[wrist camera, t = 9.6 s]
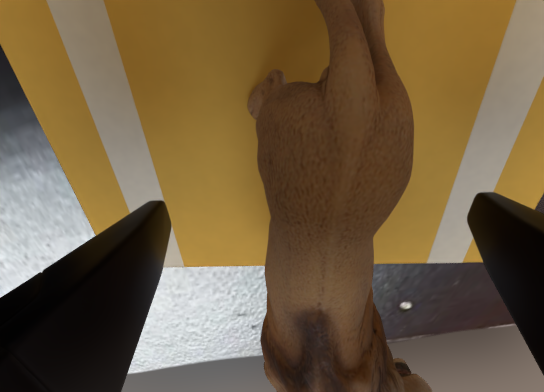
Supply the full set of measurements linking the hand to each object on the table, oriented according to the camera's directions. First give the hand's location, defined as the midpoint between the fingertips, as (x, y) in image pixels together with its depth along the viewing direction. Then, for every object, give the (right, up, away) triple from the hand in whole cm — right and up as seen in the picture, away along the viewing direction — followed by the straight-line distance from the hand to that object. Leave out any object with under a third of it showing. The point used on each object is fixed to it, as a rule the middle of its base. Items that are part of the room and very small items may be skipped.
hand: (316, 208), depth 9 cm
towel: (0, +3, +3) cm, 4 cm away
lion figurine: (+1, +2, +4) cm, 4 cm away
